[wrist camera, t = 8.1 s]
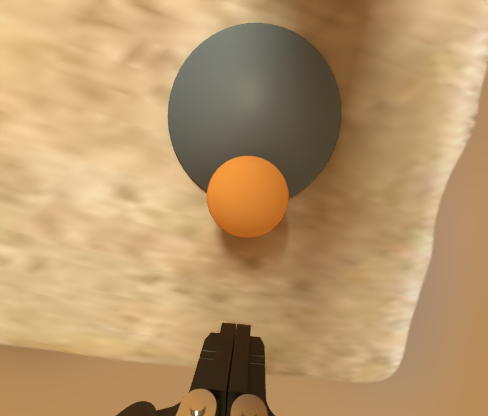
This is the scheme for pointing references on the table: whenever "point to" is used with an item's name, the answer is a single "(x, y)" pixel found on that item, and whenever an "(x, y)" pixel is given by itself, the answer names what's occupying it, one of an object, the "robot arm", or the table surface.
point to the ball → (247, 196)
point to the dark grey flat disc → (255, 104)
